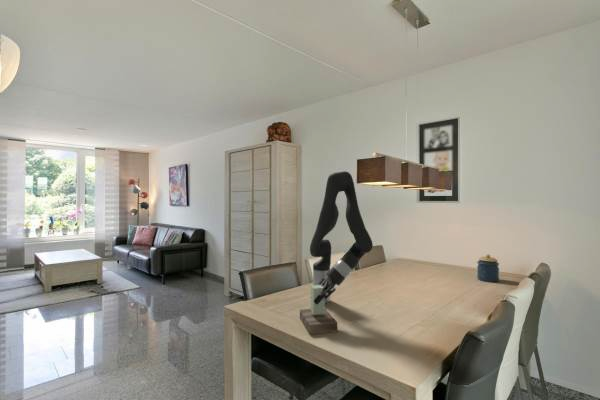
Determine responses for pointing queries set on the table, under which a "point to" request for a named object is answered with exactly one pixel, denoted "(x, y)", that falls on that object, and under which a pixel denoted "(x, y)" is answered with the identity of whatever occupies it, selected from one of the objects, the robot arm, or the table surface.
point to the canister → (488, 269)
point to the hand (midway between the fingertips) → (313, 300)
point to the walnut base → (318, 322)
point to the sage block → (314, 293)
